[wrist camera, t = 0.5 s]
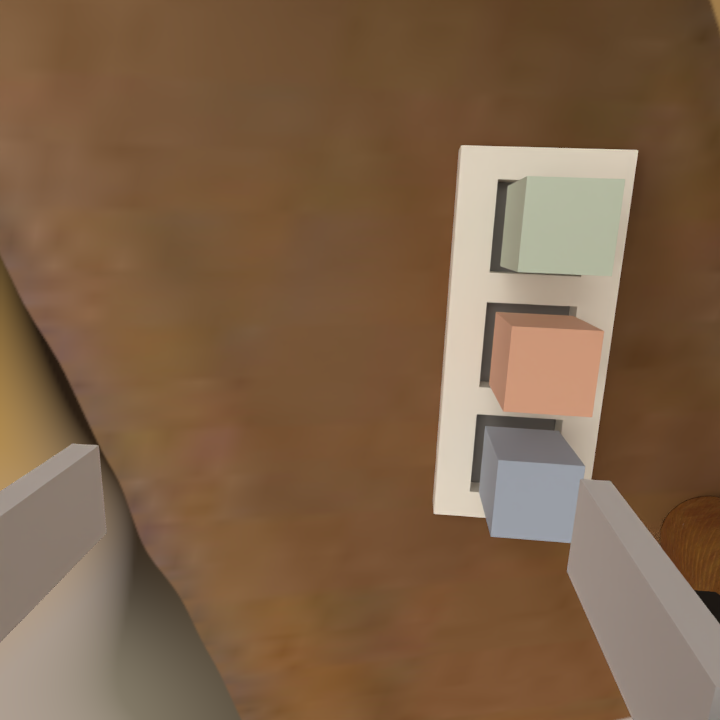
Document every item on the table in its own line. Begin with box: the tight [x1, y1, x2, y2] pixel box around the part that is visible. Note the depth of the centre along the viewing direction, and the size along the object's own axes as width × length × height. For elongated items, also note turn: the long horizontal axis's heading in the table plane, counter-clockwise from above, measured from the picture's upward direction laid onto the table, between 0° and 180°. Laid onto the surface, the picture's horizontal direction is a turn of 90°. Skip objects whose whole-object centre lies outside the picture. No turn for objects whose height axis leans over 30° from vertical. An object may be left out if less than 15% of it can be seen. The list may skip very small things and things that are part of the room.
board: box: [433, 145, 638, 518], centre depth 39 cm, size 26×11×2 cm, turn 178°
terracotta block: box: [489, 312, 604, 417], centre depth 34 cm, size 5×5×6 cm
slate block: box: [479, 426, 585, 543], centre depth 36 cm, size 5×5×6 cm
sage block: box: [500, 176, 625, 276], centre depth 32 cm, size 5×5×6 cm
